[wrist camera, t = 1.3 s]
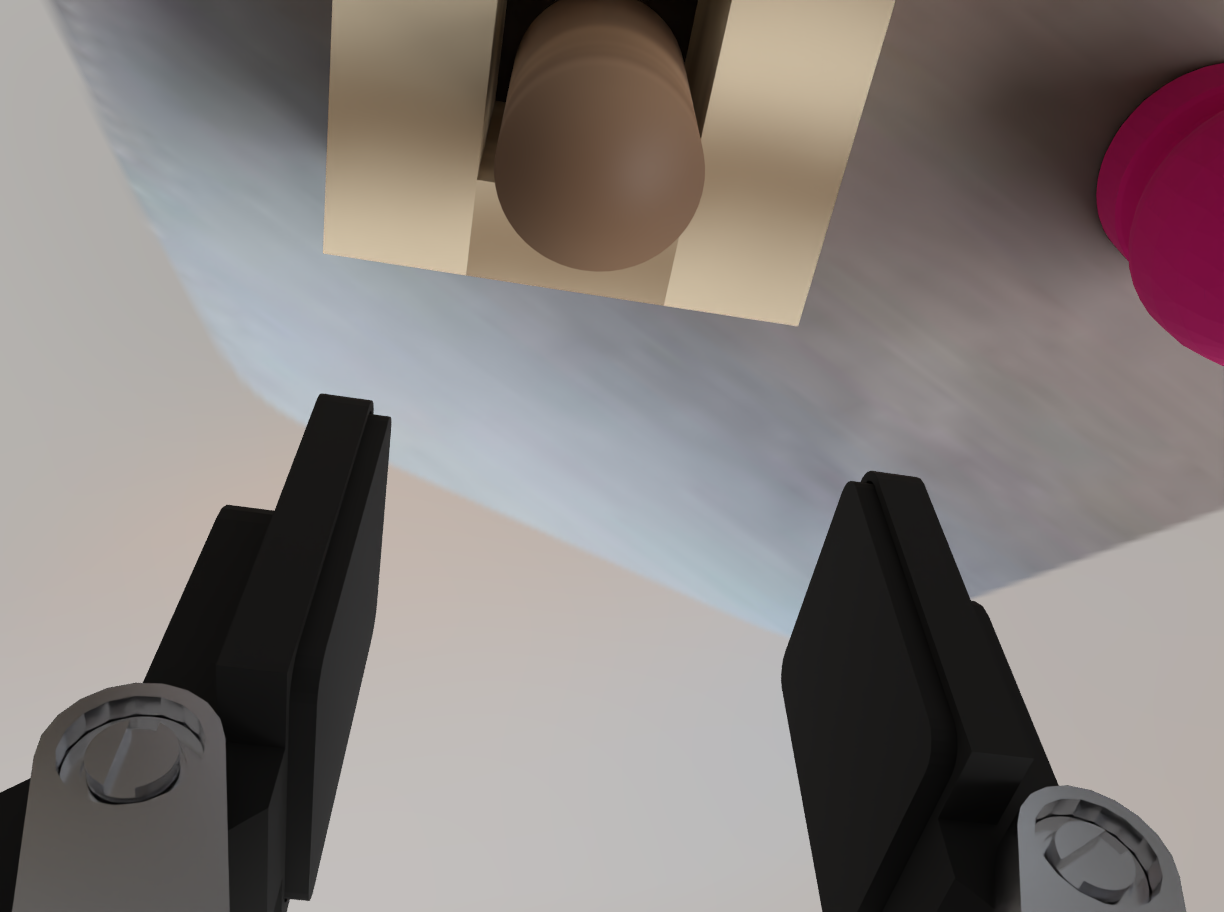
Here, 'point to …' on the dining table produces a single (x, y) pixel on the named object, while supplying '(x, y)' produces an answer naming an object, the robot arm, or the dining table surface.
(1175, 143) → the pepper mill
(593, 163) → the walnut peg
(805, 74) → the oak socket block
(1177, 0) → the dining table surface
